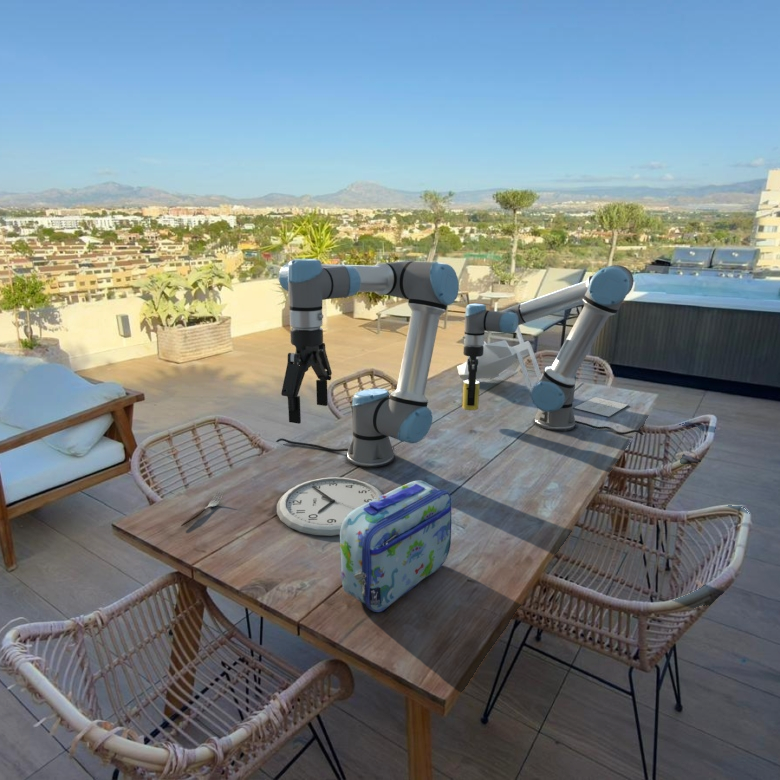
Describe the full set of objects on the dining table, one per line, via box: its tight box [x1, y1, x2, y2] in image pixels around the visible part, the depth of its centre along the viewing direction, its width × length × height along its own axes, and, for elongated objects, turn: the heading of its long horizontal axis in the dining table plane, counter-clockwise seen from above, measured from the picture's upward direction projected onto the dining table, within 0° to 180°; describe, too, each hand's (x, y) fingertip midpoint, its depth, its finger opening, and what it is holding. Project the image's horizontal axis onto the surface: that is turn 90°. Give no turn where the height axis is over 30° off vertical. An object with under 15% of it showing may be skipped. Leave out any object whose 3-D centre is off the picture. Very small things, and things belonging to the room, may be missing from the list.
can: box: [462, 379, 481, 411], centre depth 205 cm, size 6×6×11 cm
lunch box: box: [339, 479, 452, 613], centre depth 109 cm, size 26×11×21 cm, turn 134°
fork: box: [180, 491, 225, 527], centre depth 138 cm, size 3×16×2 cm, turn 160°
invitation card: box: [573, 396, 629, 418], centre depth 226 cm, size 21×1×15 cm
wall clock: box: [276, 476, 385, 537], centre depth 142 cm, size 30×2×30 cm
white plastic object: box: [456, 325, 542, 393], centre depth 252 cm, size 37×45×31 cm
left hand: (309, 413), depth 128 cm, fingers open, 13 cm apart
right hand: (470, 402), depth 206 cm, fingers closed on can, 6 cm apart
